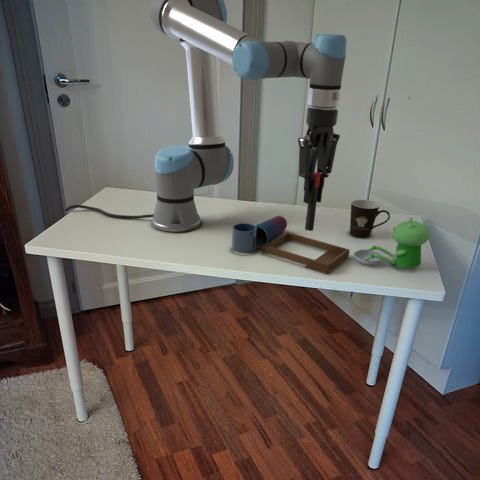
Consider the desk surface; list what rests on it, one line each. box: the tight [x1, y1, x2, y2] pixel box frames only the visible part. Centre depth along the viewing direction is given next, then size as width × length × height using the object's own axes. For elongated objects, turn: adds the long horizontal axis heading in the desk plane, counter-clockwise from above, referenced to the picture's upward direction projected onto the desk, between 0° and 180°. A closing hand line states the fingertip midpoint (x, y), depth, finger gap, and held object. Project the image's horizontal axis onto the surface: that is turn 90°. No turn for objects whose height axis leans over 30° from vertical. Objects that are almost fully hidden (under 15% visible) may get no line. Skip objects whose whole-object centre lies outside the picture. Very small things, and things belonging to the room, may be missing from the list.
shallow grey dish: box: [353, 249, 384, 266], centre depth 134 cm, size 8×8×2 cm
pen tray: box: [262, 231, 351, 275], centre depth 136 cm, size 21×14×3 cm, turn 55°
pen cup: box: [231, 222, 257, 254], centre depth 137 cm, size 7×7×7 cm
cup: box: [254, 215, 288, 248], centre depth 144 cm, size 7×7×15 cm
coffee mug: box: [349, 199, 391, 239], centre depth 149 cm, size 12×9×10 cm
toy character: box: [360, 217, 431, 269], centre depth 131 cm, size 10×18×13 cm, turn 73°
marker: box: [304, 171, 321, 232], centre depth 128 cm, size 3×3×16 cm
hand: (312, 201), depth 128 cm, fingers closed on marker, 3 cm apart
